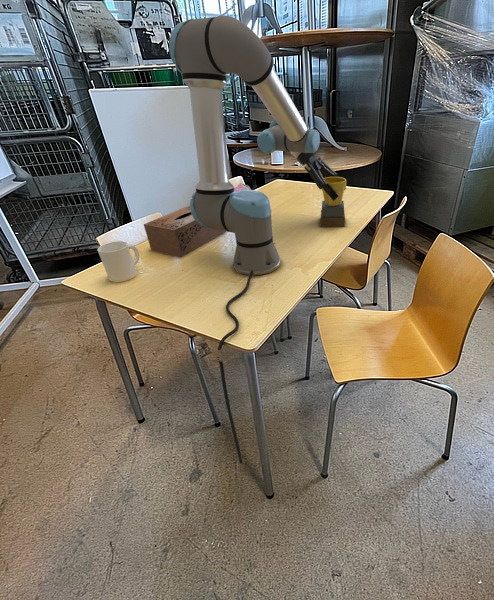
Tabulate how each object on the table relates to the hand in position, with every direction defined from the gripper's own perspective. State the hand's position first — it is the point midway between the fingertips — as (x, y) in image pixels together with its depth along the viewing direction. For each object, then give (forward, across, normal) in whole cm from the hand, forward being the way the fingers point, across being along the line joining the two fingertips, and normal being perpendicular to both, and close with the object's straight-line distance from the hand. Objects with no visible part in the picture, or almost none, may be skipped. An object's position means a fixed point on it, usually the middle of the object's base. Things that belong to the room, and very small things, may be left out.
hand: (340, 194), depth 135 cm
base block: (+6, 0, -11) cm, 12 cm away
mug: (-29, +64, -46) cm, 84 cm away
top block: (+4, 0, -8) cm, 9 cm away
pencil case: (-30, -7, -47) cm, 56 cm away
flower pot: (+1, 0, -5) cm, 5 cm away
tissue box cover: (-27, +35, -44) cm, 62 cm away
